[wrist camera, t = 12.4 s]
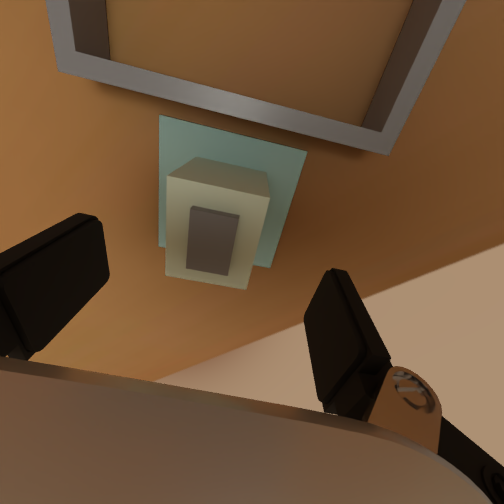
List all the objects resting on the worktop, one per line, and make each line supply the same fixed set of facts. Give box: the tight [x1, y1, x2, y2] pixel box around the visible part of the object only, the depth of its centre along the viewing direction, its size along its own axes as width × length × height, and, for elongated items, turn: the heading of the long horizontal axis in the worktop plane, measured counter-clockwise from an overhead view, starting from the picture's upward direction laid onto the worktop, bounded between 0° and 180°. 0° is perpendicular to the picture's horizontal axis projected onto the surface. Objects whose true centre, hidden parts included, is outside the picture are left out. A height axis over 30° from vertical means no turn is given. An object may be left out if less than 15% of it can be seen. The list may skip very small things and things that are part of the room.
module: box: [165, 156, 270, 290], centre depth 15 cm, size 5×6×6 cm
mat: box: [159, 115, 307, 268], centre depth 18 cm, size 10×10×1 cm
